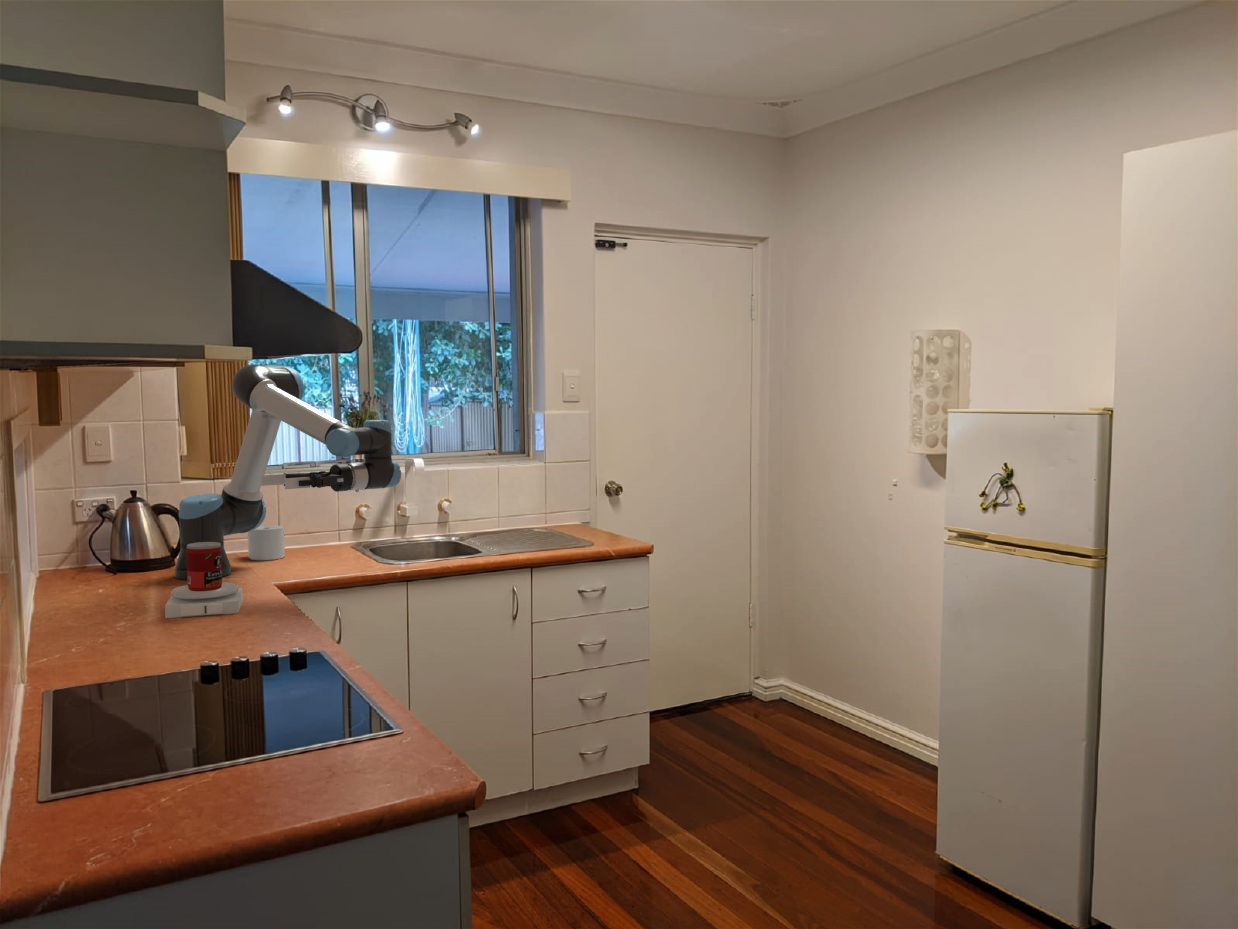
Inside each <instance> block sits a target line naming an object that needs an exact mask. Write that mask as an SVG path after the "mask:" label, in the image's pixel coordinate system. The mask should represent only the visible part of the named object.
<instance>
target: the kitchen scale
mask: <svg viewBox="0 0 1238 929" xmlns="http://www.w3.org/2000/svg"><path fill="white" fill-rule="evenodd" d="M170 594H171V596H170V597H169V598H168V600H167V601H166V603H165V605H164V615H165V619H171V618H172V619H173V618H185V617H186V618H187V617H189V618H190V617H202V616H215V615H229V614H239V613H240V610H241V606H242V603H243V599H244V597H243V596H244V595H243V587H239V585H238V584H237V583H233V582H223V581H222V586H221V588H219V589H216V590H211V591H191V590H189V588H188V584H186V585H182V586H177V587H175V588H172V589H171V592H170Z"/></svg>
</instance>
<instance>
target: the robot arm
mask: <svg viewBox="0 0 1238 929" xmlns="http://www.w3.org/2000/svg"><path fill="white" fill-rule="evenodd" d="M303 381H304V380H303V379H302V377H301V375H300V374H299V372H298V371H297V370H296V369H294V368H292V367H291V366H287V365H281V364H278V365H277V364H274V365H273V364H272V365H270V364H248V365H245V366H243V367H241V368H239V369H238V370H237V371H236V372H235V374H234V376H233V377H232V381H231V389H232V392H233V395H234V396H235V398H236V399H237V400H238V401H239V402H240V403H241V404H243V405H245V406H246V407H248V408H250V409H251V413H250V416H249V420H248V424H247V426H246V429H245V432H244V437H243V440H242V444H241V447H240V450H239V453H238V457H237V461H236V463H235V466H234V470H233V473H232V476H231V480H230V482H229V483H227V484H224V486H223V488H222V490H221V493H202V494H195V495H194V494H193V495H191V496H188V497H185V498H183V499H182V500H181V501H180V503H179V504H178V505H179V510H178V520H179V521H178V522H179V544H180V545H179V546H180V548H179V549H180V550H179V555H178V556H177V561H176V564H175V566H174V578H175V579H179V580H186V581H188V578H187V549H186V547H187V545H188V544H191V543H198V542H218V543H221V561H222V578H223V577H227V576H229V575H231V574H232V565H231V563H230V560H229V558H228V555H227V552H226V549H225V540H224V538H225V536H230V535H237V534H244V533H245V534H246V533H248V532H249V531H251V530H254V529H256V528H258V527H259V526H262V524H263V522H264V521H265V518H266V514H267V507H265V505H266V503H265V500H264V499H263V498H264V494H263V493H262V491H261V488H262V487H263V486H278V485H283V486H284V489H285V490H293V489H296V490H297V489H308V488H318V489H320V488H325V487H330V488H331V489H332V491H334V492H337V493H338V492H347V491H354V492H356V493H359V491H361V490H375V489H377V490H378V489H386V488H392V487H393V488H394V487H395V486H398V485H399V483H400V481H401V480H402V470H401V466H400V464H399V463H398V462H397V461H394V460H393V459H392V434H393V433H392V429H391V428H392V427H391V426H392V425H391V421H389V420H387V419H367V420H365V421H364V422H363V426H362V427H361V426H360V427H352V426H350V425H348V424H346V423H344V422H342V421H341V420H339V419H337V418H335V417H334V416H331V415H329V414H327V413H326V412H324V411H322V410H320V409H318V408H316V407H315V406H313V405H311V404H309V403H307V402H305V401H303V400H302V399H303V397H304V394H305V385H304V382H303ZM281 422H282V423H284V424H287V425H288V426H290V427H292V428H294V429H296V430H298V431H299V432H301V433H303V434H305V435H307V436H309V437H311V438H313V439H315V440H316V441H318V442H320V443H322V444H323V445H325V446H326V449H327V450H328V451H329V453H330V454H331V455H333V456H335V457H343V458H348V457H353V456H362V455H364V456H363V458H364V462H352V463H351V462H350V463H335V464H333V465H332V466H330V468H329V471H326V470H321V471H320V470H319V471H310V472H298V473H297V472H296V473H295V472H294V473H293V472H292V473H290V472H289V473H287V472H283V473H278V474H266V471H267V466H268V464H269V462H270V457H271V455H272V452H273V448H274V446H275V442H276V438H277V436H278V432H279V430H280V429H279V428H280V426H281Z"/></svg>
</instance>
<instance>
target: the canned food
mask: <svg viewBox="0 0 1238 929" xmlns="http://www.w3.org/2000/svg"><path fill="white" fill-rule="evenodd" d="M186 549H187V578H188V580H187V585H188V588H189V590H191V591H211V590H216V589H219V588H221V586H222V582H223V577H222V561H221V543H218V542H198V543H191V544H188V545H187V547H186Z"/></svg>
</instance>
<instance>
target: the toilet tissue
mask: <svg viewBox="0 0 1238 929" xmlns="http://www.w3.org/2000/svg"><path fill="white" fill-rule="evenodd" d="M247 548H248V555H247V556H248V558H249V559H250V561H251V560H252V561H271V560H272V561H273V560H279V559H283V558H285V556H286V555H285V528H284V526H283V525H274V524H273V525H271V524H270V525H260V526H259V527H258V528H256V529H254V530H251V531H249V532H247Z"/></svg>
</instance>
